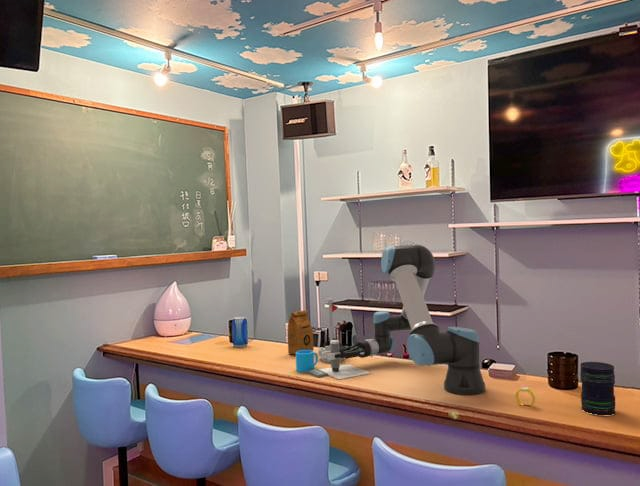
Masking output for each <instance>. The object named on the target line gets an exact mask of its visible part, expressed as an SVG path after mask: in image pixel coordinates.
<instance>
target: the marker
mask: <svg viewBox="0 0 640 486" xmlns="http://www.w3.org/2000/svg"><path fill="white" fill-rule="evenodd" d="M329 346H330V347H331V353H336V352H339V346H340V340H338V339H333V340H331V341H330V340H329ZM340 363H341V361H340V359H334V360H331V362H330V368H332V371H339V367H340V366H341V364H340Z"/></svg>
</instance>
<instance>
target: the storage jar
mask: <svg viewBox="0 0 640 486" xmlns="http://www.w3.org/2000/svg"><path fill="white" fill-rule="evenodd" d="M579 366H580V372H579V373H580V382H581V392H580V402H581V411H582V410H584V411H585V412H588V413H592V414H597V415H612V414H615V415H616V410H615V409H616V395H615V383H616V380H615V379H616V378H615V377H616V375H615V371H614V370H615V366H614V365H612V364H611V363H606V362H602V361H601V362H599V361H584V362H581V363H580V365H579ZM585 412H584V413H585Z"/></svg>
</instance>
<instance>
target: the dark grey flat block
mask: <svg viewBox="0 0 640 486" xmlns="http://www.w3.org/2000/svg"><path fill="white" fill-rule="evenodd" d="M306 373H307V374H309V375H311V376H313V377H316V378H318V379H319V378H324V377H329V375H328V373H326V372H323V371H321V370H319V368H314V369H312V370H307V372H306Z"/></svg>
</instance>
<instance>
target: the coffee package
mask: <svg viewBox="0 0 640 486" xmlns="http://www.w3.org/2000/svg"><path fill="white" fill-rule="evenodd" d="M307 314H308V310H307V309H305V310H299V311H293V312H291V313H290V316H289V319H288V322H287V351H288V355H295V356H296V352H297V351H300V350H311V351H314V350H315V349H314V332H313V327H312V324H311V322H310V320H309V316H308V315H307Z"/></svg>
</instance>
